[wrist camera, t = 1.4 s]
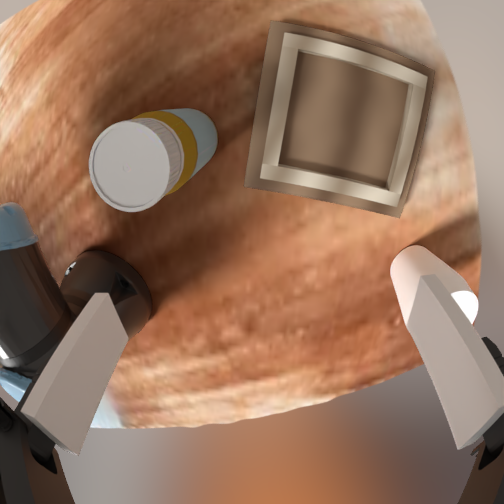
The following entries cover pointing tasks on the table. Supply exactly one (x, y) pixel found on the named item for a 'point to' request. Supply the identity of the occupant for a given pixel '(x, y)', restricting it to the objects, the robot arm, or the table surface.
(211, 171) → the table surface
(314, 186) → the plinth
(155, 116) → the bottle
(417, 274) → the cup
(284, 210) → the table surface
